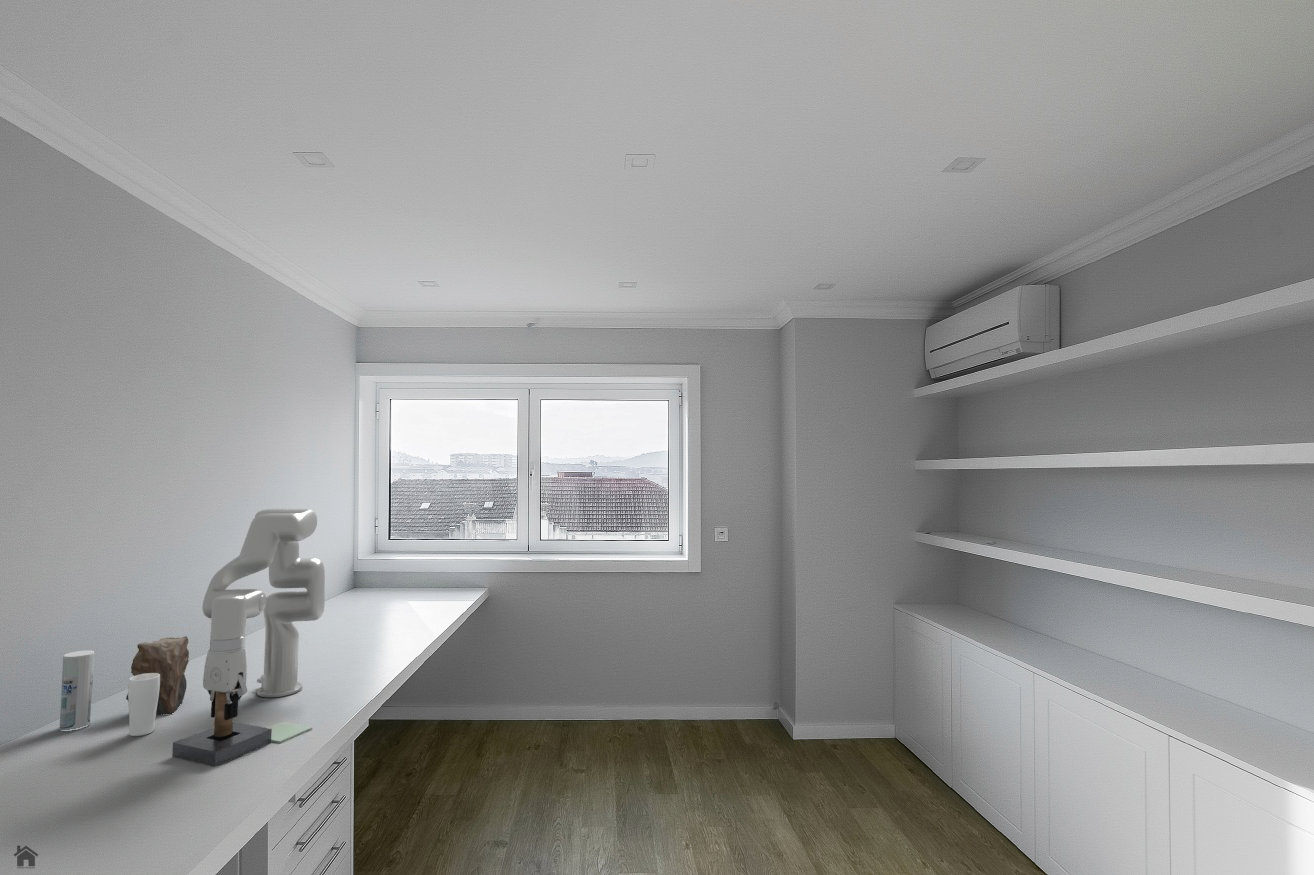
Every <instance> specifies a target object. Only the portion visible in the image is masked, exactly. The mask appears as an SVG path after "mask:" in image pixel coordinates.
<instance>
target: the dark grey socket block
mask: <svg viewBox="0 0 1314 875" xmlns="http://www.w3.org/2000/svg"><path fill="white" fill-rule="evenodd" d="M271 734H272V729H269V728H268V727H264V726H259V725H252V724H247V723H244V722H237V721H233V732H232V733H231V734H229V735H226V736H221V737H216V736H214V726H213V727H210V728H208V729H205V730H203V731H200V732H197V733H195V734H191V735H190V736H187V737H184V738H181V739H178V740H176V741H173V742H172V753H171V757H172V758H174V759H179V760H184V761H188V762H193V763H196V764H197V763H198V764H201V763H202V765H205V764H206V765H205V766H209V765H210V767H214V768H215V767H218V766H220V764H221V765H223V764H225V763H227V762H229V760H230V761H232V760H234V759H236V757H237V758H238V756H239V757H241V756H244V755H245V753H246V754H249V753H251V752H252V751H255V750H257V748H258V749H260V748H262V747H265V746H267V745H269V744H272V742H271ZM250 751H251V752H250ZM243 754H244V755H243ZM240 755H241V756H240ZM231 759H232V760H231ZM222 763H223V764H222Z"/></svg>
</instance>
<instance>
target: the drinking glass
mask: <svg viewBox="0 0 1314 875" xmlns="http://www.w3.org/2000/svg"><path fill="white" fill-rule="evenodd" d="M159 690H160V674H158V673H146V674H140V675H136V676H134V675H133V676H131V677H130V678H129V679H128V685H127V694H128V700H127V703H128V720H129V724H128V726H129V728H128V729H129V731H128V734H129V735H130V736H131V737H142V736H146V735H149V734H151V733H153V732H154V730H155V726H156V725H155V722H156V716H157V715H156V710H157V704H158V697H159Z"/></svg>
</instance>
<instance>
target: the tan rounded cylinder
mask: <svg viewBox="0 0 1314 875" xmlns="http://www.w3.org/2000/svg"><path fill="white" fill-rule="evenodd" d="M231 694H232V696H233V695H234V694H235V692H233V693H231ZM225 704H227V698H226V693H222V692H216V700H215V717H214V723H213V724H214V725H213V727H214V736H216V737H221V736H226V735H229V734H231V733H232V732H233V722H234V718H232V719H229V720H224V711H225Z"/></svg>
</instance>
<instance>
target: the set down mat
mask: <svg viewBox="0 0 1314 875" xmlns="http://www.w3.org/2000/svg"><path fill="white" fill-rule="evenodd" d="M267 728H269V729H272V734H271V743H275V744H282V743H284V742H287V741H288V739H289V740H290V739H293V738H295V736H296V737H298V736H300V735H303V734H304V732H305V733H307V732H309V731H311V730H310V729H312V730H313V727H311V726H306V725H300V724H296V723H290V722H284V721H281V722H279V723H276V724H274V725H271V726H269V727H267ZM308 730H309V731H308ZM306 731H307V732H306ZM302 733H303V734H302ZM297 735H298V736H297ZM286 740H287V741H286Z"/></svg>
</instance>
